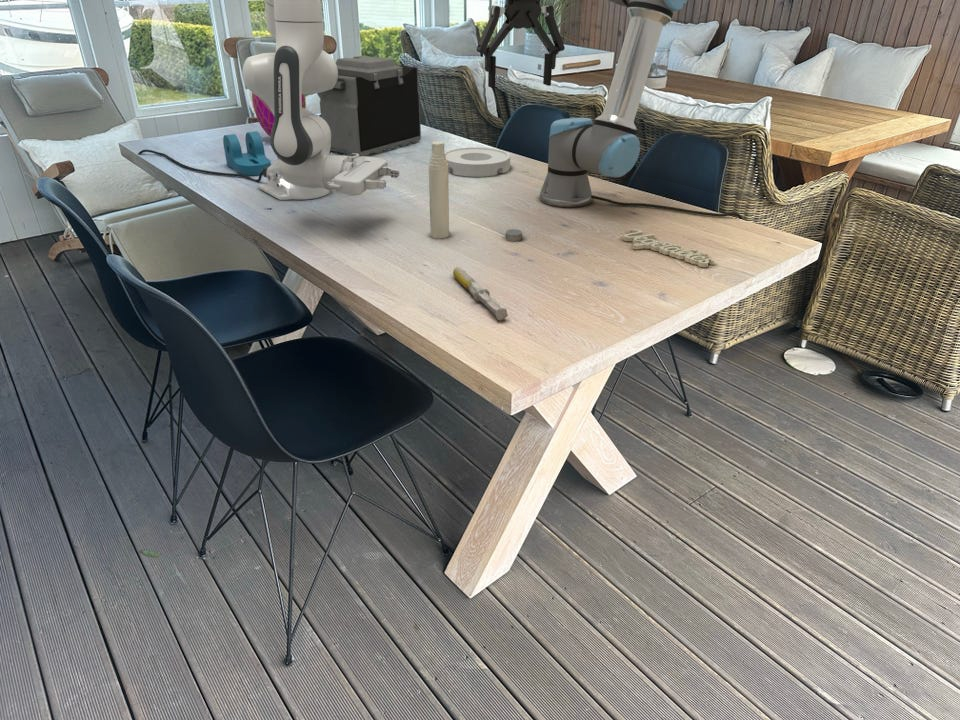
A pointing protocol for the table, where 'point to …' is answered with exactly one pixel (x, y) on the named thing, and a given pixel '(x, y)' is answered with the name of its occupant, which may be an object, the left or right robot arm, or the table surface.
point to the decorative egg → (267, 113)
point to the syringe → (479, 293)
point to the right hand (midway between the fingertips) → (519, 86)
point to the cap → (514, 235)
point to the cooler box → (372, 106)
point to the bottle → (439, 191)
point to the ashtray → (477, 161)
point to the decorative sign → (667, 248)
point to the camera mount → (246, 154)
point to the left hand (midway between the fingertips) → (391, 179)
